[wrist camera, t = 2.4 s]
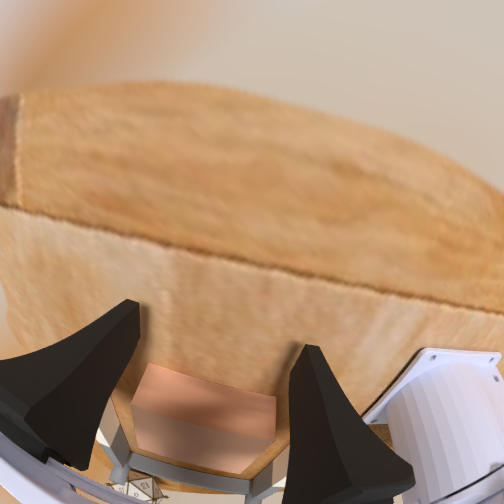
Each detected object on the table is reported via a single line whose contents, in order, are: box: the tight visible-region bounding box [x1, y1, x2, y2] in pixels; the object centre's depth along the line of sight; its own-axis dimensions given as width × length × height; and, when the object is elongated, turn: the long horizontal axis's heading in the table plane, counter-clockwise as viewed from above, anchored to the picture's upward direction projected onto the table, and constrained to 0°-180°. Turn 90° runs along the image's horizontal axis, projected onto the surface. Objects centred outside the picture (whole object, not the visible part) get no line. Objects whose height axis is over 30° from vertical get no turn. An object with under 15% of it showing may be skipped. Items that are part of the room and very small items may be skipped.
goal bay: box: [99, 425, 284, 504], centre depth 21 cm, size 18×11×5 cm, turn 77°
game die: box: [106, 470, 169, 504], centre depth 26 cm, size 9×8×10 cm
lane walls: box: [96, 396, 290, 487], centre depth 17 cm, size 17×10×3 cm, turn 77°
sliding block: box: [131, 363, 276, 474], centre depth 16 cm, size 8×8×4 cm
